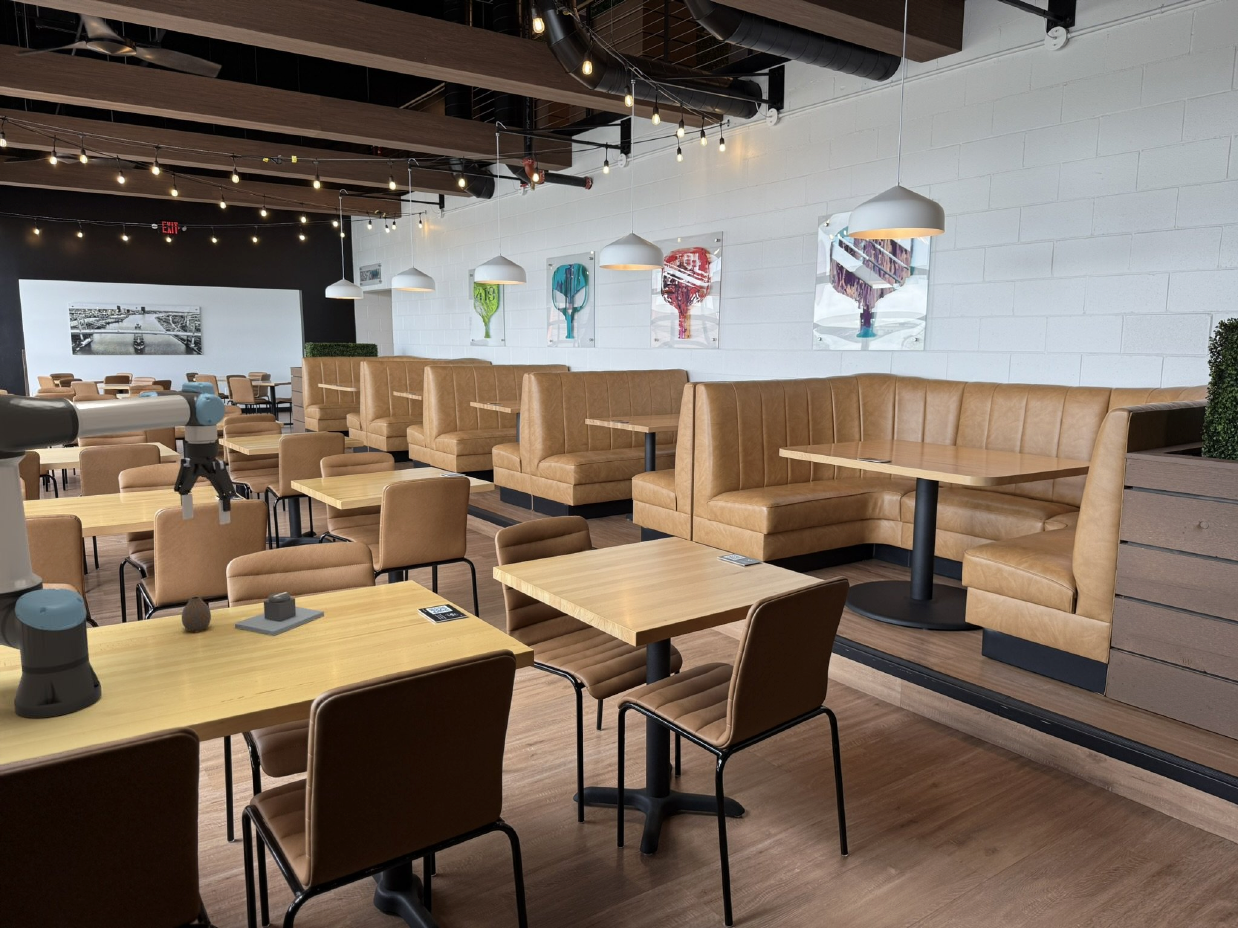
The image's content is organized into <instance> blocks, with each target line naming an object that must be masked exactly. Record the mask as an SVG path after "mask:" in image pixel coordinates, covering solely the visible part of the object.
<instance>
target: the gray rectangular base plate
mask: <svg viewBox="0 0 1238 928" xmlns="http://www.w3.org/2000/svg"><path fill="white" fill-rule="evenodd" d="M295 608H296V615H295V616H293V617H290V618H287V619H285V620H282V621H276V620H271V619H265V616H264V612H262V613H260V614H257V615H255V616H252V617H249V618H247V619H244V620H241V621H238V622H235V623H234V629H237V630H238V629H239V630H243V631H247V632H248V631H249V632H251V633H258V634H262V635H267V636H273V637H275V636H277V635H279V634H283V633H285V632H288V631H290V630H292V629H295V628H298V627H299V626H302V625H304V624H307V623H310V622H312V621H315V620H317V619H320V618H322V617H324V616H325V611H322V610H316V609H311V608H306V607H300V606H295ZM319 617H320V618H319ZM314 619H315V620H314Z"/></svg>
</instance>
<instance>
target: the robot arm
mask: <svg viewBox="0 0 1238 928" xmlns="http://www.w3.org/2000/svg"><path fill="white" fill-rule="evenodd" d="M215 390H216V389H215V386H214V384H213V383H212V382H209V381H207V382H206V381H204V382H203V381H192V382H191V381H190V382H189V381H188V382H183V383H182V385H181V390H172V391H170V390H169V391H151V392H143V393H141V394H140V395H138V396H137V397H129V398H128V397H127V398H114V399H113V398H112V399H101V400H100V399H99V400H85V401H71V400H70V399H69V398H66V397H59V398H57V397H56V398H55V397H54V398H48V397H47V398H46V397H45V398H43V397H33V396H24V395H17V394H2V393H0V646H5V647H8V648H12V649H15V650H19V655H20V665H21V672H22V673H21V677H20V680H19V684H18V686H17V690H16V694H15V697H14V702H13V703H14V704H13V705H14V713H15V714H16V715H18V716H19V717H23V718H29V719H31V718H32V719H37V718H38V719H41V718H43V719H44V718H50V717H57V716H62V715H68V714H70V713H74V712H77V711H80V710H82V709H86V707H89V706H91V705H93V704H95V703H96V702H97V701H99V700H100V699H101V698H102V695H103V693H102V684H101V682H100V680H99V678H98V676H97V674H96V672H95V670H94V668H93V666H92V663H91V662H90V655H89V654H90V653H89V643H88V641H89V640H88V628H87V627H88V625H87V609H86V606H85V601H84V598H83V596H82V595H81V594H80V593H78V592H76V591H75V590H71V589H67V588H58V589H56V588H44V584H43V583H44V582H43V579H42V577H41V576H39V575H37V574H36V573H35V572H33V567H32V560H31V552H30V551H31V550H30V545H29V543H30V542H29V536H28V529H27V522H26V513H25V506H24V498H23V490H22V482H21V475H20V467H19V464H20V463H21V461H22V460H23V459H24V458H26V456H27V453H26V451H31V450H38V449H42V448H43V449H45V448H50V447H55V446H62V445H63V446H64V445H70V444H73V443H75V442H76V441H77V440H78V439H80V438H89V437H97V436H99V437H100V436H105V435H115V434H116V435H117V434H125V433H133V432H134V433H135V432H142V431H143V432H144V431H151V430H160V429H168V428H178V427H184V440H185V441H186V443H185V452H186V453H185V454H186V456H187V457H184V458H181V459H180V467H179V471H178V473H177V477H176V481H175V483H174V486H173V491H174V493H178V495H180V496H179V497H180V505H181V508H182V520H185V521H186V520H189V519H193V518H194V517H195V515H194V502H193V494H192V492H193V491H192V489H193V488H194V486H195V484H196V483H197V482H198V481H197V480H198V479H199V477H200V478H205V479H206V480H209V482H210V484H211V485H212V487H213V488H214V490H215V492H216V493H217V495H218V496H219V499H218V500H217V501H218V514H219V515H218V516H219V517H218V518H219V525H222V526H223V525H226V524H230V523H231V510H232V507H231V506H232V505H231V503H232V502H231V499H232V498H234V497H237V492H236V488H235V487H234V483H233V482H232V479H231V477H230V474H229V472H228V469H227V463H226V461H225V460H219V461H217V460H216V457H218V455H219V443H218V442H217V440H218V426H217V425H218V424H219V423H221V421H223V419H224V417H225V413H226V405H225V403H224V400H223V399H222V398H221V397H220V396H218V395H216V391H215Z"/></svg>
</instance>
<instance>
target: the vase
mask: <svg viewBox="0 0 1238 928" xmlns="http://www.w3.org/2000/svg"><path fill="white" fill-rule="evenodd" d="M211 620H212V613H211V609H210V607H209V606H208V604H206V603H205V601H204V600H203V599H202V597H201V596H192V597H190V598H189V600H188V602H187V603H186V604H185V606H184V607H183V609H182V612H181V622H182V625H183V627H184V629H186V630H187V631H188V632H190V633H197V632H202V631H204V630H206V629H207V628H208V626H210V622H211Z"/></svg>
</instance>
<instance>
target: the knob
mask: <svg viewBox="0 0 1238 928" xmlns="http://www.w3.org/2000/svg"><path fill="white" fill-rule="evenodd" d="M295 607H296V598H294V597H291V593H289V592H288V591H285V592H275V593H271V594H269V595H268V596H267V599H266V600H264V601H263V609H264V610H263V613H264V616H265V619H271V620H276V621H282V620H285V619H287V618H290V617H293V616H295V615H296V608H295Z"/></svg>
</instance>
